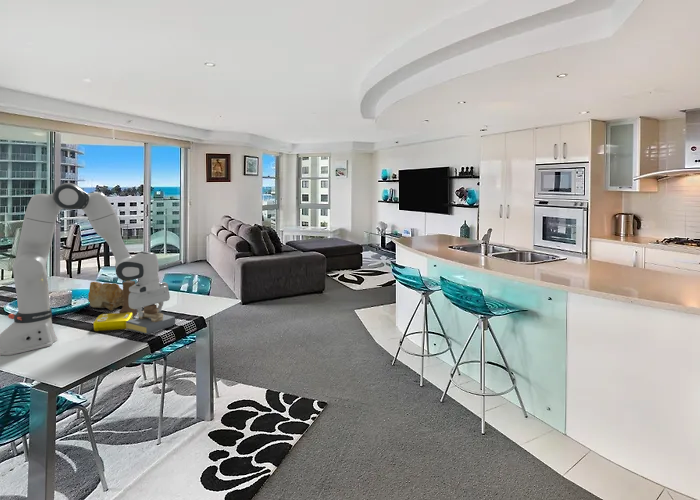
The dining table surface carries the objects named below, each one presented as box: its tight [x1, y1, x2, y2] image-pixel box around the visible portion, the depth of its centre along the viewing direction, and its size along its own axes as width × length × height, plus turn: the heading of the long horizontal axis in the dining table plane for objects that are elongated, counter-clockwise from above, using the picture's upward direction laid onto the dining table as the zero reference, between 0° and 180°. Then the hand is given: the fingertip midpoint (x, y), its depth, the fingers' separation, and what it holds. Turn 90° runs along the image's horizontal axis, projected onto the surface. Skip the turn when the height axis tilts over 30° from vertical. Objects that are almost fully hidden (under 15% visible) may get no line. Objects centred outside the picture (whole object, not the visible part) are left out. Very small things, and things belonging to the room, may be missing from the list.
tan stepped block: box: [137, 310, 164, 322], centre depth 211 cm, size 5×12×3 cm, turn 62°
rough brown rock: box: [87, 281, 124, 311], centre depth 244 cm, size 23×17×15 cm
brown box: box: [143, 304, 158, 315], centre depth 211 cm, size 3×5×4 cm, turn 62°
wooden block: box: [118, 280, 138, 317], centre depth 226 cm, size 9×4×18 cm, turn 178°
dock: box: [126, 313, 176, 335], centre depth 212 cm, size 16×14×4 cm
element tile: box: [93, 312, 134, 332], centre depth 214 cm, size 15×15×5 cm
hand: (150, 313), depth 211 cm, fingers open, 8 cm apart
